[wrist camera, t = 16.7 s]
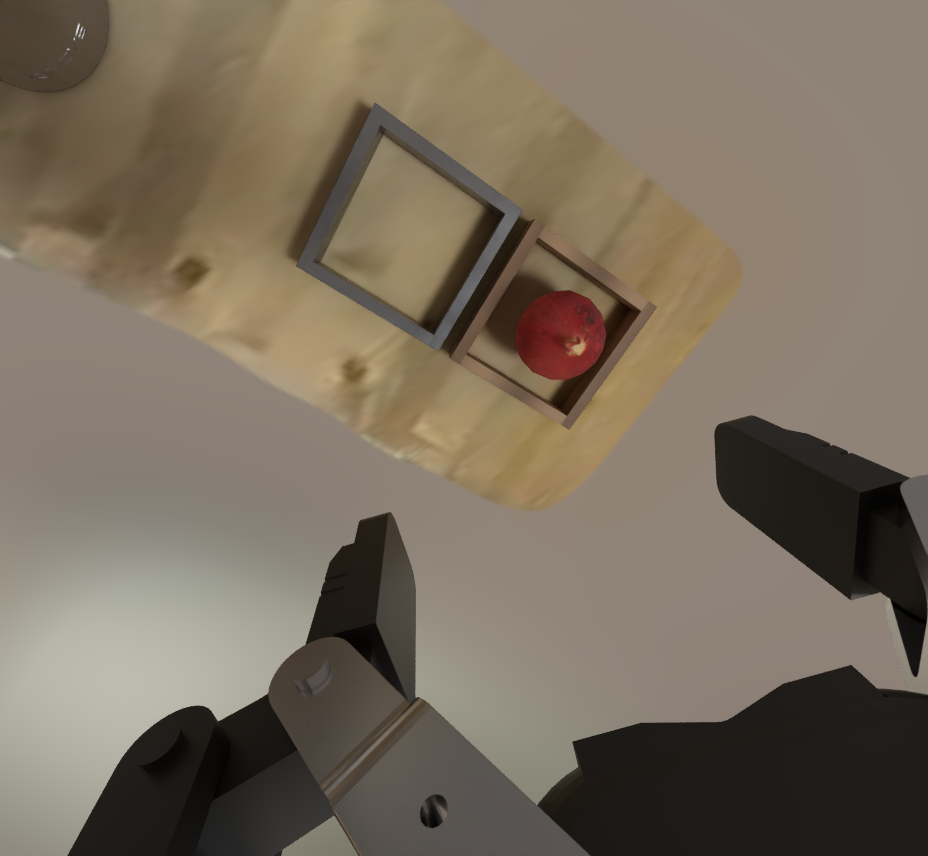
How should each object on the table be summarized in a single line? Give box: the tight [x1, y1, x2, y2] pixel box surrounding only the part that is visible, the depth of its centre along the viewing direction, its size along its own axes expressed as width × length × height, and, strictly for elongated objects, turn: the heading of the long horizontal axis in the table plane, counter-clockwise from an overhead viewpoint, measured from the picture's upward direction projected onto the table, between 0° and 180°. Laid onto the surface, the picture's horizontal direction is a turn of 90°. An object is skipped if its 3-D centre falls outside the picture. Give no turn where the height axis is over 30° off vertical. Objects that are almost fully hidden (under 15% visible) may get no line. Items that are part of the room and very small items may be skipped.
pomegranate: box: [515, 290, 606, 380], centre depth 30 cm, size 6×6×8 cm
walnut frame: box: [449, 219, 657, 430], centre depth 32 cm, size 11×11×2 cm
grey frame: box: [296, 103, 522, 351], centre depth 30 cm, size 11×11×2 cm
